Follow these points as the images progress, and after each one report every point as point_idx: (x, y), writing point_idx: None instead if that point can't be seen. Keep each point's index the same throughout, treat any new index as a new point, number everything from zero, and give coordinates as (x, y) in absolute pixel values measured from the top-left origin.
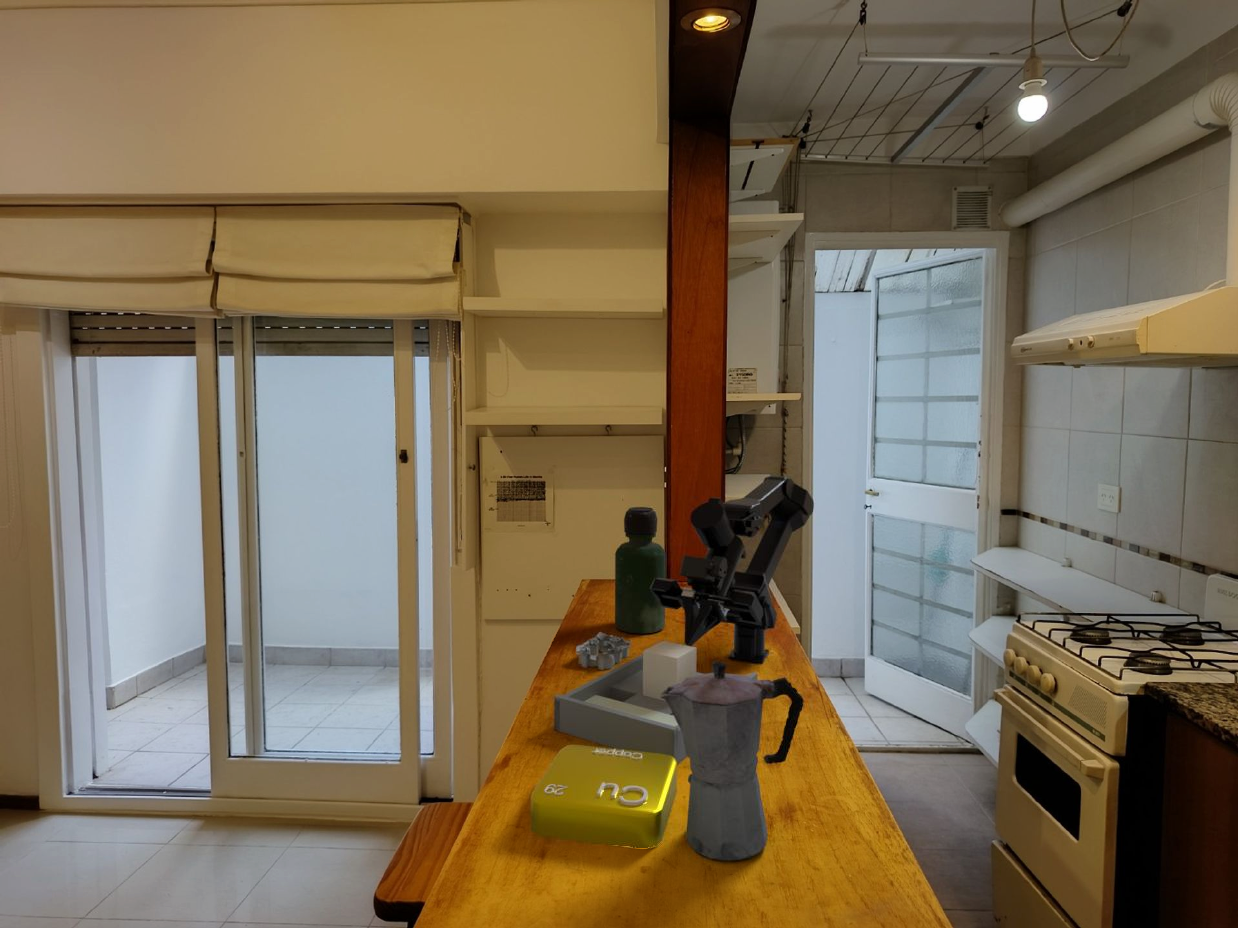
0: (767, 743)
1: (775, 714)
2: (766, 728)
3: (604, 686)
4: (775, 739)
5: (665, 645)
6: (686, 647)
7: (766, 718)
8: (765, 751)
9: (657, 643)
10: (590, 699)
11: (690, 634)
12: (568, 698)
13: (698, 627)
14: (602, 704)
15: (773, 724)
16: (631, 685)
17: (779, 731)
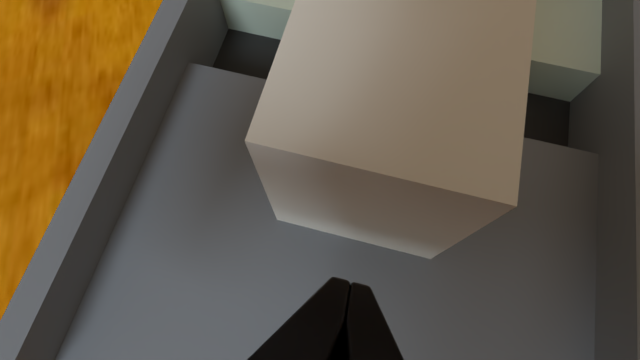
0: (51, 65)
1: (4, 264)
2: (46, 149)
3: (608, 112)
4: (27, 92)
5: (455, 112)
6: (310, 119)
7: (39, 221)
8: (60, 26)
9: (523, 134)
10: (592, 38)
11: (330, 312)
12: None
13: (252, 355)
14: (536, 19)
15: (21, 183)
16: (535, 193)
17: (8, 142)
